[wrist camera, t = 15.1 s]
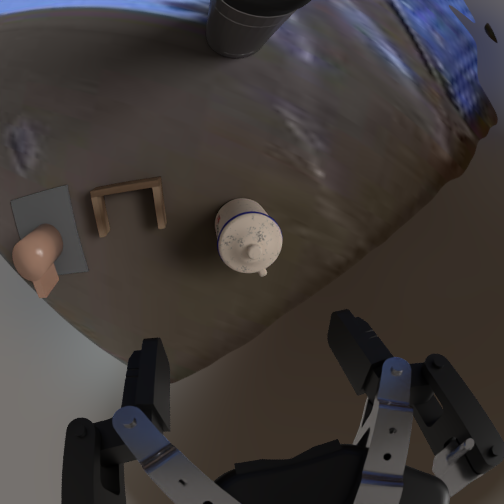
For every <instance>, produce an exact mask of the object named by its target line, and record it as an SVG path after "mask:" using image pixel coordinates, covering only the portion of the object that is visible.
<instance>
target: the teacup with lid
mask: <svg viewBox="0 0 504 504" xmlns="http://www.w3.org/2000/svg"><path fill="white" fill-rule="evenodd" d="M215 230H216V235H217V248H218V253H219V255H220V257H221V259H222V261H223V262H224V263H225V264H226V265H227V266H228V267H230V268H231V269H233V270H235V271H238V272H242V273H254V272H258V273H259V275H260V276H261V277H263V276H265V275H266V274H267V271H266V269H265V268H267V267H268V266H270V265H271V264H272V263H273V262H274V261H275V260H276V258H277V257H278V255H279V253H280V251H281V247H282V233H281V230H280V227H279V225H278V224H277V223H276V221H275V220H274V219H273V218H271V217H270V216H269V215H268V214H267V213H266V212H265V210H264V209H263V208H262V207H261V206H260V205H259V204H258V203H257V202H255V201H253V200H250V199H246V198H238V199H234V200H231V201H229V202H228V203H226V204H225V205H224V206H222V208H221V209H220V210H219V212H218V214H217V216H216V219H215Z"/></svg>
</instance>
